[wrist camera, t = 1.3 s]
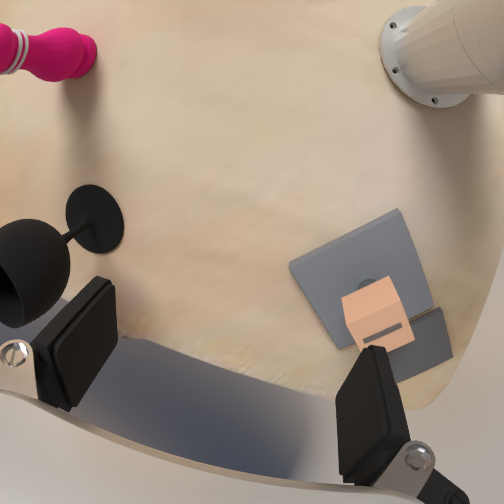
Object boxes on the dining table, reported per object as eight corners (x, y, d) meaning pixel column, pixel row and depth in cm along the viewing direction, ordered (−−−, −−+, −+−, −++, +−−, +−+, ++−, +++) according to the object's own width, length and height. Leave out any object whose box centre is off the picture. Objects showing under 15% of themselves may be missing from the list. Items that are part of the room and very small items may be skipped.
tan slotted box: (388, 275, 33) (400, 300, 28) (404, 313, 35) (415, 340, 30) (341, 297, 35) (346, 325, 30) (360, 333, 37) (365, 361, 32)
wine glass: (58, 224, 42) (-34, 290, 24) (81, 169, 38) (-31, 221, 20) (107, 265, 44) (25, 351, 26) (136, 213, 40) (38, 293, 22)
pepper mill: (104, 29, 29) (-15, 6, 12) (95, 81, 33) (-29, 86, 15) (64, 35, 30) (-50, 26, 12) (56, 83, 33) (-61, 95, 15)
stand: (397, 208, 35) (400, 212, 34) (430, 300, 39) (434, 305, 38) (289, 262, 40) (288, 268, 39) (337, 342, 44) (338, 349, 43)
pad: (439, 306, 40) (442, 310, 39) (451, 353, 43) (453, 357, 42) (373, 338, 43) (374, 342, 42) (392, 380, 47) (393, 384, 46)
